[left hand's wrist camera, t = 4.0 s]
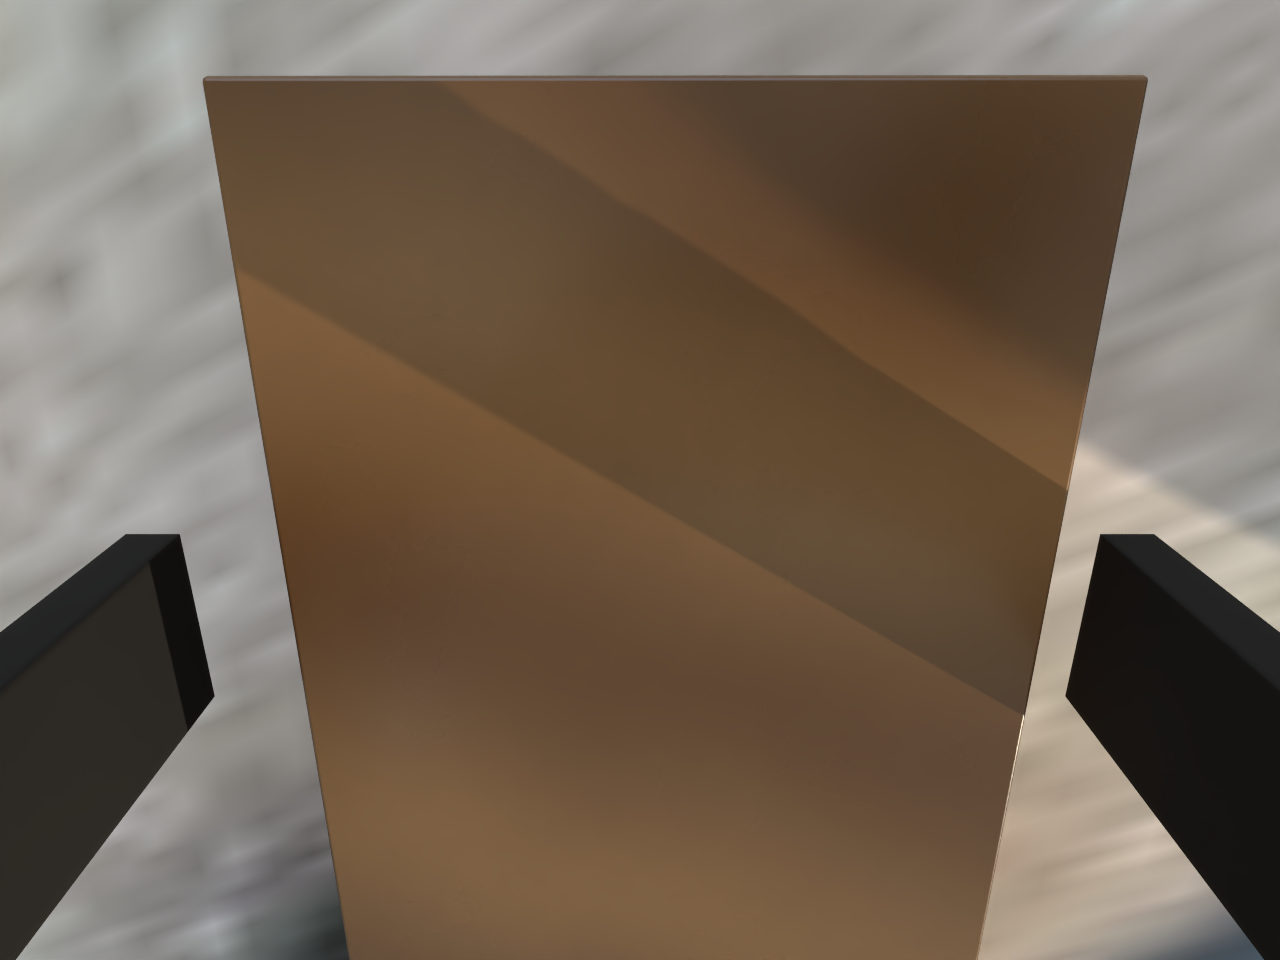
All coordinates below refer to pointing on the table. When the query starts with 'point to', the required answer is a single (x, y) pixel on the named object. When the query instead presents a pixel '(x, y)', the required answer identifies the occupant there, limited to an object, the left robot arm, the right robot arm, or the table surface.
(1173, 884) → the table surface
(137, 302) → the table surface
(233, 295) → the table surface
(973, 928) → the wide beam
